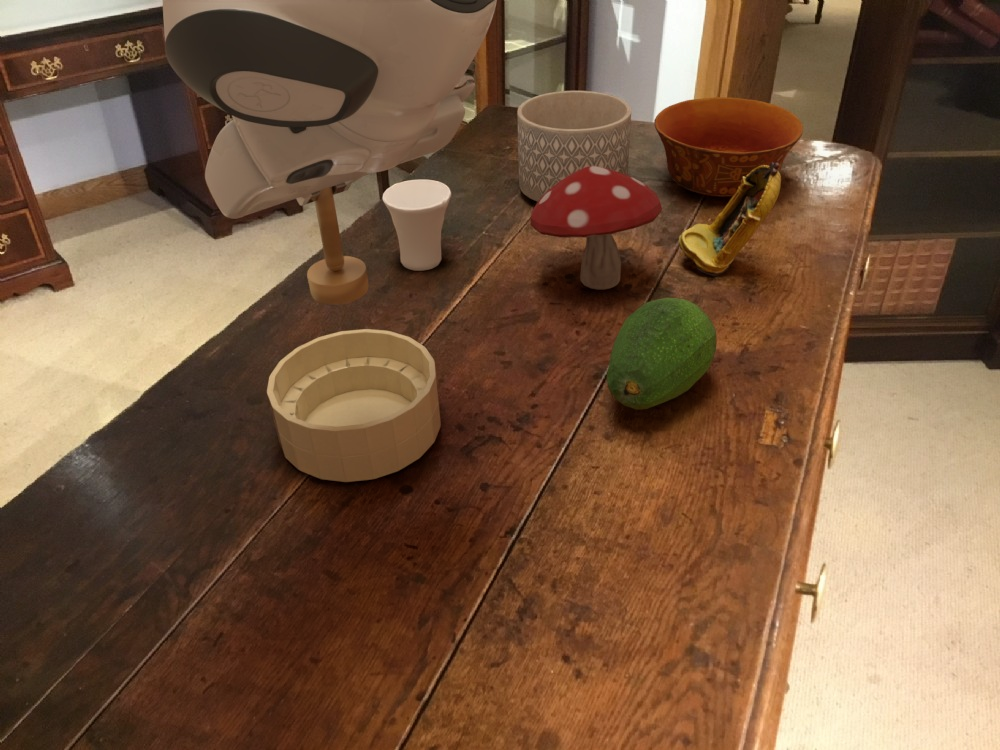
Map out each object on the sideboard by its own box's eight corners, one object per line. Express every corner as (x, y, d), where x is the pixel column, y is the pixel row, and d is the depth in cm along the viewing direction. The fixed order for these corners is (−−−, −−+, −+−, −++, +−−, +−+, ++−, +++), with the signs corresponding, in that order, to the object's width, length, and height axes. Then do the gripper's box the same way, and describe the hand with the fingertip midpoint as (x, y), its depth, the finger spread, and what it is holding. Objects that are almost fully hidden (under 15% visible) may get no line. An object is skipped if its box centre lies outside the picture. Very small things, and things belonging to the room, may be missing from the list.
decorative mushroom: (518, 306, 105) (515, 193, 96) (544, 245, 117) (543, 140, 108) (649, 319, 101) (658, 204, 92) (661, 255, 114) (670, 147, 105)
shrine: (771, 259, 112) (791, 150, 103) (758, 289, 106) (778, 176, 97) (685, 243, 116) (697, 137, 107) (668, 271, 110) (679, 161, 101)
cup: (428, 284, 110) (421, 213, 104) (376, 264, 114) (366, 195, 108) (471, 256, 115) (467, 187, 109) (420, 238, 120) (413, 171, 114)
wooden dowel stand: (357, 307, 74) (327, 120, 64) (301, 302, 75) (263, 118, 65) (376, 276, 78) (350, 96, 68) (323, 272, 79) (289, 94, 69)
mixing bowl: (416, 495, 79) (408, 438, 75) (254, 475, 82) (238, 420, 78) (457, 389, 92) (452, 336, 88) (315, 375, 95) (305, 323, 91)
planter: (599, 224, 122) (602, 138, 114) (499, 202, 128) (496, 119, 121) (643, 180, 133) (649, 99, 125) (549, 162, 140) (549, 84, 132)
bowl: (777, 225, 119) (790, 158, 113) (631, 202, 127) (636, 137, 121) (802, 168, 134) (814, 105, 128) (670, 150, 142) (676, 90, 136)
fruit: (660, 448, 83) (668, 366, 77) (575, 410, 88) (577, 331, 82) (729, 372, 93) (742, 294, 87) (649, 342, 98) (656, 266, 92)
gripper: (463, 33, 64) (405, 125, 76) (206, 99, 54) (186, 193, 66) (502, 106, 64) (437, 187, 76) (252, 186, 54) (223, 264, 66)
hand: (319, 190), depth 71 cm, fingers closed on wooden dowel stand
